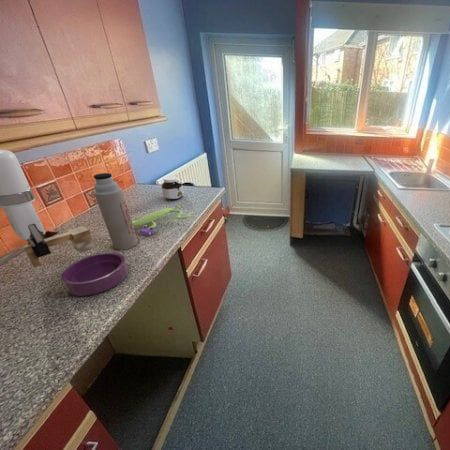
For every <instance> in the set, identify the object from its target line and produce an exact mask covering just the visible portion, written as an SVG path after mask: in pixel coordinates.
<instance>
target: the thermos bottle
mask: <svg viewBox="0 0 450 450" xmlns="http://www.w3.org/2000/svg"><path fill="white" fill-rule="evenodd" d="M93 179H95V184H94V185H93V189H94V192H93V194H94V198H95V200H96V202H97V205H98V208H99V210H100V213H101V215H102V219H103V221H104V225H105V226H106V229H107V232H108V235H109V237H110V240H111V243H112V246H113V248H114V249H115V250H119V251H120V250H121V251H122V250H123V251H124V250H127V249H131V248H133V247H135V246H136V245H137V244H138V242H139V240H138V237H137V234H136V231H135V230H136V229H135V227H134V226H133V224H134V223H133V224H132V221H131V220H132V217H131V214H130V212H129V208H128V205H127V202H126V198H125V195H124V191H123V189H122V188H121V187H120V186H119V183H118V182H117V181H114V177H113V175H112V174H111V172H110V173H109V172H103V173H102V172H101V173H97V174H94V175H93Z"/></svg>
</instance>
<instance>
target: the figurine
mask: <svg viewBox="0 0 450 450" xmlns="http://www.w3.org/2000/svg"><path fill="white" fill-rule="evenodd" d="M170 213H178V214H176V219H177V220H187V219H189V218H190V217H191V216H192V215H196V212H195V211H191V212H189V213H188V214H187V216H182V215H183V214H184V212H183V211H182V210H181V205H178V204H177V205H176V206H175V208H170V207H165V208H162V209H159V210H156V211H152V212H151V213H148V214H146V215H144V216H142V217H140V218H139V219H138V217H137V216H134V218H133V219H131V221H132V224H133V227H134V228H136V227H142V228H141V230H140V234H141V235H145V236H151V235H154V234H155V229H154V228H156V227H157V224H156V222H155V221H158V222H161V220H160V219H161V218H163V217H165V216H166V215H168V214H170ZM151 224H152V225H151Z"/></svg>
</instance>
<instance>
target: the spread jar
mask: <svg viewBox="0 0 450 450" xmlns="http://www.w3.org/2000/svg"><path fill="white" fill-rule="evenodd" d="M161 192H162V195H163V197H164V198H165V199H166V200H168V201H178V200H181V199H182V198H183V197H184V194H185V191H184V185H183V183H182V182H181V181H179V179H178V176H173V175H171V176H166V177H163V183H162V184H161Z"/></svg>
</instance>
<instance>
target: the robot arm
mask: <svg viewBox="0 0 450 450" xmlns="http://www.w3.org/2000/svg"><path fill="white" fill-rule="evenodd" d="M36 200H37V199H36V197H35V194H34V192H33V190H32V188H31V186H30V184H29V182H28V179H27V177H26V175H25V173H24V170H23V168H22V167H21V164H20V162H19V160H18V158H17V156H16V154H15V153H14V152H13V151H10V150H7V149H0V208H2V210H3V212H4V214H5V216H6V219H7V220H8V222H9V224H10V226H11V228H12V230H13V232H14V234H15V235H16V236H17V237H19V239H20V240H22V241H25V242H26V241H27V244H30V243H31V244H32V246H31V247H32V249H33V251H34V253H35V255H36V257H37V258H38V259H39V258H42V257H46V256H47V255H51V254H52V252H51V250H50V247H48V245H47V243H46V242H45V240H44V239H45V238H44V236H45V235H46V229H45V228H44V225H43V223H42V221H41V219H40V217H39V215H38V212H37V211H36V209H35V207H34V205H33V203H34V202H35V201H36Z"/></svg>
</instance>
